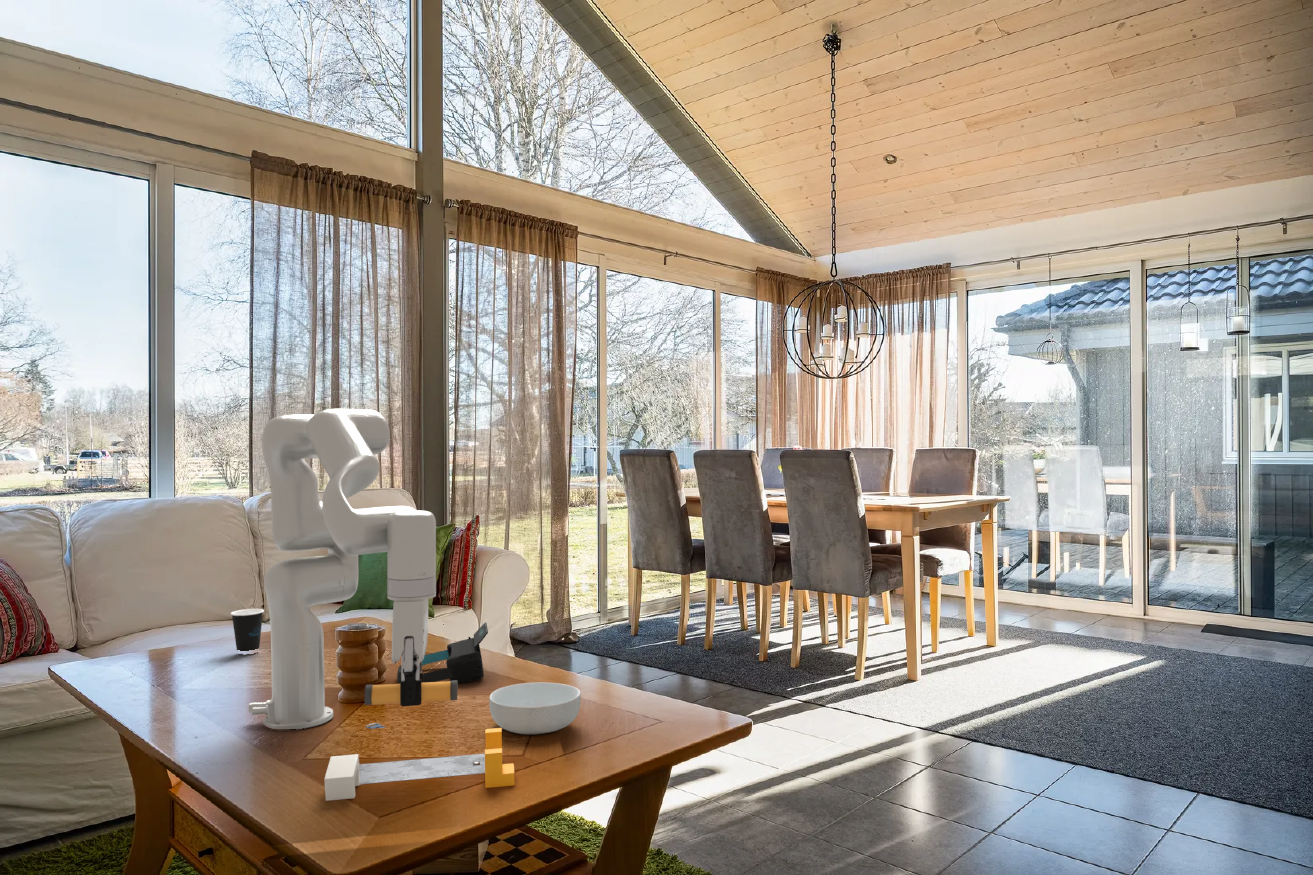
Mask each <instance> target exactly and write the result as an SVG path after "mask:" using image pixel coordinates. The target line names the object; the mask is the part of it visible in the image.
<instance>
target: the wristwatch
mask: <svg viewBox="0 0 1313 875" xmlns="http://www.w3.org/2000/svg"><path fill="white" fill-rule="evenodd" d="M372 725H374V726H372ZM369 726H370V727H369ZM365 728H366V729H371V730H372V729H373V730H374V729H384V728H386V726H384V725H381V724H380V723H379V722H373V723H369V724H367V725H365Z"/></svg>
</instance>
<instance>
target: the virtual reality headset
mask: <svg viewBox="0 0 1313 875" xmlns="http://www.w3.org/2000/svg"><path fill="white" fill-rule="evenodd" d="M488 633H489V631H488V624H487V622H486V621H485V622H484V623H483V624H482V626H480V627H479V628H478V629H477V630H476V631H475V632H474V634H473V637H471V636H468V637H467V638H466V639H461V640H459V641H455V642H451V643H449V644H447V646H446V649H444V650H441V651H435V652H432V653H428V654H425V656H424V659H423V660H422V667H423V666H426V665H430V664H433V663H437V662H441V661H446V662H445V663H446V667H445V668H441V669H436V670H434V671H433V670H432V671H429V672H428V671H427V672H422V673H423V683H426V682H443V681H447V680H449V681H453V680H457V683H458V685H459V684H463V683H469V682H474V681H477V680H482V679H483V677H484V666H483V665H484V664H483V658H482V653H481V651H482V650H481V647H480V643H482V641H484V639H485V637H486V636H487V635H488ZM396 677H397V679H396V680H397V684H400V681H401V664H400V666H398V668H397V673H396Z"/></svg>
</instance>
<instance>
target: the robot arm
mask: <svg viewBox="0 0 1313 875" xmlns="http://www.w3.org/2000/svg"><path fill="white" fill-rule="evenodd" d="M262 431H263V432H262V435H261V448H262V450H261V451H262V456H263V460H264V462H265V463H264V464H265V466H266V469H267V472H268V476H269V479H270V490H271V491H270V496H271V498H270V502H271V503H270V504H271V505H270V506H271V534H272V540H273V543H274V545H275V547H276V549H278V550H280V551H282V552H304V551H315V550H323V549H327V553H328V554H327V555H326V554H325V555H318V556H305V557H296V558H289V559H283V560H281V561H278V562H275V563H274V564H272V565H271V566H270V567H269V568H268V569H267V570H266V572H265V575H264V580H263V581H264V586H263V587H264V592H265V595H266V600H267V605H268V606H267V607H268V611H269V612H268V614H269V623H270V624H269V625H270V656H271V657H270V658H271V659H270V660H271V661H270V663H271V664H270V666H271V699H267V700H266V701H264V702H260V701H258V702H257V701H256V702H249V704H248V713H250V714H251V715H253V716H254V715H255V716H256V715H263V714H264V715H265V717H264V718H263V726H264V725H266V726H268V727H270V728H274V729H296V730H302V729H303V728H304V729H308V728H313V727H316V726H319V725H323V724H324V723H325V724H326V723H327V722H329V721H330V720H332V719H333V717H334V710H333V709H332V708H331V707H330V706H325V703H326V702H325V699H326V698H325V656H324V655H325V653H324V652H325V650H324V649H325V646H324V644H325V643H324V628H323V624H322V623H321V621H320V619H319V618H318V617H317V616H316V615H315V614H314V613H313V612H312V609H311V607H313V606H317V605H323V604H324V605H325V604H329V603H330V604H331V603H337V602H342V601H343V602H344V601H346V600H349V599H351V598H352V597H353V596H354V595H355V594H356V592H357V590H358V586H359V556H361V555H368V554H369V555H370V554H378V553H387V555H386V556H387V566H386V567H387V580H386V581H387V583H386V584H387V586H386V588H387V592H386V593H387V594H386V595H387V597H386V598H387V599H388V600H390V601H393V605H392V606H393V608H392V625H391V626H392V630H391V632H392V633H391V657H390V658H391V663H393V664H397V662H399V661H401V664H400V665H401V681H400V703H399V705H400V706H401V707H416V706H420V705H422V702H421V683H423V673H424V672H423V666H422V660H423V659H424V656H425V655H426V651H427V645H428V636H429V600H431V599H434V598H435V597H437V576H436V575H437V553H436V552H437V540H436V539H437V534H436V533H437V520H436V517H435V515H434V513H433V512H431V511H427V510H422V509H421V510H419V509H418V510H417V509H416V508H414V507H411V506H409V505H392V506H375V507H374V506H373V507H372V506H371V507H360V508H359V507H358V508H353V507H352V506H351V504H350V503H349V501H348V499H349V498H351V497H353V496H355V495H356V494H358V493H360V492H362V491H364V490H365V489H367V488H368V487H369V486H371V485H372V484H373V483H374V481H375V480H376V479H377V478H378V475H379V472H380V462H379V460H378V458H377V457H376V455H379V454H380V453H382V452H384V451H385V450H386V448H387V447H388V445H389V443H390V439H391V438H390V435H391V432H390V427H389V424H388V422H387V420H386V418H385V417H384V416H383V415H382V413H380V412H378V411H377V410H373V409H367V408H366V409H363V408H330V409H329V408H328V409H324V410H320V411H318V412H317V413H315V414H307V413H306V414H304V413H303V414H301V413H300V414H285V415H279V416H274V417H273V418H271V419H270V420H268V421H267V422H266V424H265V425H264V428H263V430H262ZM305 459H318V460H319V462H320V463H321V465H322V466H323V468H324V470H325V472H326V474H327V476H328V477H329V481H328V482H327V484H326V486H325V488H324V491H323V495H322V500H321V501H320V500H319V480H318V477H317V475H316V473H315V472H314V470H313V469H312V467H311V466H310V465H309V464H308V462H306V460H305Z"/></svg>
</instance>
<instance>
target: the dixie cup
mask: <svg viewBox="0 0 1313 875" xmlns="http://www.w3.org/2000/svg"><path fill="white" fill-rule="evenodd" d="M264 612H265V610H264V609H262V608H245V609H238V610H234V611H231V612H230V616H231V617H232V624H233V626H232V627H233V631H234V632H233V634H234V640H235V647H236V651H237V650H240V651H249V650H255V649H258V648H259V649H260V644H261V634H262V626H263V613H264ZM259 649H258V650H259Z"/></svg>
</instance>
